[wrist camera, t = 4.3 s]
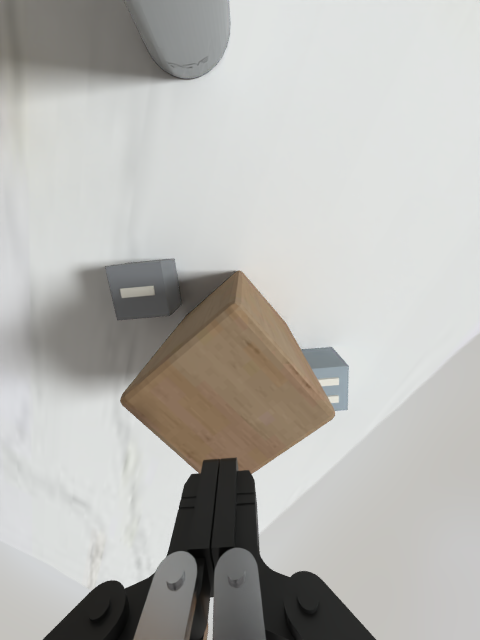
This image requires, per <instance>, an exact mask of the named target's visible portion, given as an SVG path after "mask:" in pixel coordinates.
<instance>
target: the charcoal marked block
mask: <svg viewBox="0 0 480 640" xmlns="http://www.w3.org/2000/svg"><path fill="white" fill-rule="evenodd" d="M105 269H106V273H107V277H108V282H109V286H110V290H111V295H112V299H113V303H114V308H115V312H116V317H117V320H126V319H137V318H149V317H160V316H170V315H171V314H172V313H173V312H174V311H175V310H176V309H177V308H178V307H179V306H180V305H182V303H181V297H180V290H179V284H178V278H177V271H176V265H175V259H165V260H155V261H144V262H134V263H125V264H118V265H111V266H105Z"/></svg>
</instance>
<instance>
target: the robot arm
mask: <svg viewBox="0 0 480 640" xmlns="http://www.w3.org/2000/svg"><path fill="white" fill-rule="evenodd" d="M124 2H125V4H126V6H127V8H128V10H129V12H130V15H131V17H132V19H133V21H134V23H135V25H136V27H137V29H138V31H139V33H140V35H141V37H142V39H143V41H144V44H145V46H146V48H147V49H148V51H149V53H150V55H151V57H152V58H153V59H154V61H155V62H156V63H157V64H158V65H159V66H160V67H161V68H162V69H163V70H164V71H166V72H168V73H169V74H171V75H173V76H176V77H180V78H195V77H199V76H202V75H204V74H205V73H207V72H209V71H210V70H211V69H212V68H213V67H215V66H216V65H217V63H218V62H219V60H220V59H221V58H222V56H223V54H224V51H225V49H226V47H227V43H228V39H229V35H230V8H229V0H124ZM210 597H214V606H213V607H214V608H213V609H214V610H213V640H376V639H375V638H374V637H373V636H372V635H371V633H370V632H369V631H368V630H367V629H366V628H365V627H364V626H363V625H362V624H361V622H360V621H359V620H358V619H357V618H356V617H355V616H354V615H353V614H352V612H350V610H349V609H348V608H347V607H346V606H345V605H344V604H343V603H342V601H341V600H340V599H339V598H338V597H337V596H336V595H335V594H334V593H333V591H332V590H331V589H330V588H329V587H328V586H327V585H326V584H325V583H324V582H323V581H322V580H321V579H320V578H319V577H318V576H317V575H315V574H313V573H311V572H307V571H301V572H297V573H295V574H293V575H292V576H291V577H288V576H285V575H282V574H280V573H277V572H275V571H273V570H271V569H270V568H269V567H268V566H267V565H266V564H265V563H264V562H263V560H262V559H261V557H260V552H259V534H258V516H257V502H256V492H255V482H254V479H253V477H252V475H251V473H250V471H249V470H242V471H239V469H238V461H237V457H236V458H222V459H221V460H220V459H209V460H203V463H202V469H201V473H200V474H191V476H190V477H189V479H188V480H187V482H186V483H185V485H184V489H183V493H182V497H181V501H180V505H179V510H178V513H177V517H176V522H175V526H174V530H173V534H172V538H171V542H170V546H169V550H168V554H167V556H166V558H165V559H164V560H163V561H162V562H161V563H160V565H159V566H158V568H157V570H156V572H155V573H154V574H153V575H151V576H150V577H149V578H147V579H145V580H143V581H141V582H139V583H136V584H134V585H132V586H130V587H128V588H125V589H124V587H123V585H122V584H121V583H120V582H118V581H107V582H104V583H102V584H100V585H98V586H97V587H96V588H94V589H93V590H92V591H91V592H90V593H89V594H88V595H87V596H86V597H85V598H84V599H83V600H82V601H81V602H80V603H79V604H78V605H77V606H76V607H75V608H74V609H73V610H72V611H71V612H70V613H69V614H68V615H67V616H66V617H65V618H64V619H63V620H62V621H61V622H60V623H59V624H58V625H57V626H56V627H55V628H54V629H53V630H52V631H51V632H50V633H49V634H48V635H47V636H46V637H45V638H44V639H43V640H207V634H208V613H209V601H210Z"/></svg>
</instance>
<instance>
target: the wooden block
mask: <svg viewBox="0 0 480 640" xmlns="http://www.w3.org/2000/svg"><path fill="white" fill-rule="evenodd" d="M120 402H121V403H122V405H123V406H124V407H125V408H126V409H127V410H128V411H130V412H131V413H132V414H133V415H134V416H135V417H136V418H137V419H139V420H140V421H141V422H142V423H143V424H144V425H145V426H146V427H148V428H149V429H150V430H151V431H152V432H153V433H154V434H155V435H157V436H158V437H159V438H160V439H161V440H162V441H163V442H164V443H166V444H167V445H168V446H169V447H170V448H171V449H172V450H174V451H175V452H176V453H177V454H178V455H179V456H180V457H181V458H183V459H184V460H185V461H186V462H187V463H188V464H189V465H190V466H192V467H193V468H194V469H195V470H196V471H197V472H198V473H199V474H200V473H201V469H202V463H203V460H209V459H220V460H221V459H222V458H236V457H237V461H238V469H239V471H242V470H249V471H250V473H251V474H252V473H254V472H255V471H257V470H258V469H260V468H261V467H263V466H264V465H266V464H267V463H268V462H270V461H271V460H273V459H274V458H276V457H277V456H279V455H280V454H282V453H283V452H285V451H286V450H288V449H289V448H291V447H292V446H294V445H295V444H296V443H298V442H299V441H301V440H302V439H304V438H305V437H307V436H308V435H310V434H311V433H313V432H314V431H316V430H317V429H319V428H320V427H321V426H323V425H324V424H326V423H327V422H329V421H330V420H332V419H333V417H334V416H335V411H334V408H333V406H332V404H331V402H330V400H329V399H328V397H327V395H326V393H325V392H324V390H323V388H322V386H321V385H320V383H319V381H318V379H317V377H316V376H315V374H314V372H313V370H312V369H311V367H310V365H309V363H308V361H307V360H306V358H305V356H304V354H303V353H302V351H301V349H300V347H299V345H298V344H297V342H296V340H295V338H294V337H293V335H292V333H291V331H290V330H289V328H288V326H287V324H286V323H285V321H284V320H283V319H282V318H281V317H280V316H279V314H278V313H277V312H276V311H275V310H274V309H273V307H272V306H271V305H270V304H269V303H268V302H267V300H266V299H265V298H264V297H263V296H262V295H261V293H260V292H259V291H258V290H257V289H256V288H255V286H254V285H253V284H252V283H251V282H250V281H249V279H248V278H247V277H246V276H245V275H244V274H243V272H241V271H236V272H235V273H234V274H233V275H232V276H231V277H230V278H228V279H227V280H226V281H225V282H224V283H223V284H222V285H221V286H219V287H218V288H217V289H216V290H215V291H214V292H213V293H211V294H210V295H209V296H208V297H207V298H206V299H205V300H204V301H202V302H201V303H200V304H199V305H198V306H197V307H196V308H194V309H193V310H192V311H191V312H190V313H189V314H188V315H187V316H186V317H185V318H184V319H183V320H182V321H181V323H180V324H179V325H178V326H177V328H176V329H175V330H174V331H173V333H172V334H171V335H170V336H169V337H168V339H167V340H166V341H165V342H164V344H163V345H162V346H161V347H160V348H159V350H158V351H157V352H156V353H155V355H154V356H153V357H152V358H151V360H150V361H149V362H148V363H147V364H146V366H145V367H144V368H143V369H142V371H141V372H140V373H139V374H138V376H137V377H136V378H135V379H134V380H133V382H132V383H131V384H130V385H129V387H128V388H127V389H126V390H125V391H124V393H123V394H122V397H121V400H120Z"/></svg>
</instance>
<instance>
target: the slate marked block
mask: <svg viewBox="0 0 480 640" xmlns="http://www.w3.org/2000/svg"><path fill="white" fill-rule="evenodd" d="M301 351H302V353H303V354H304V356H305V358H306V360H307V361H308V363H309V365H310V367H311V369H312V370H313V372H314V374H315V376H316V377H317V379H318V381H319V383H320V385H321V386H322V388H323V390H324V392H325V393H326V395H327V397H328V399H329V400H330V402H331V404H332V406H333V408H334V411H339V410H348V371H349V366H348V365H347V364H346V362H345V361H344V360H343V359H342V358H341V357H340V356H339V354H338V353H337V352H336V351H335V350H334V349H333V348H332V347H327V348H315V349H302V350H301Z"/></svg>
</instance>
